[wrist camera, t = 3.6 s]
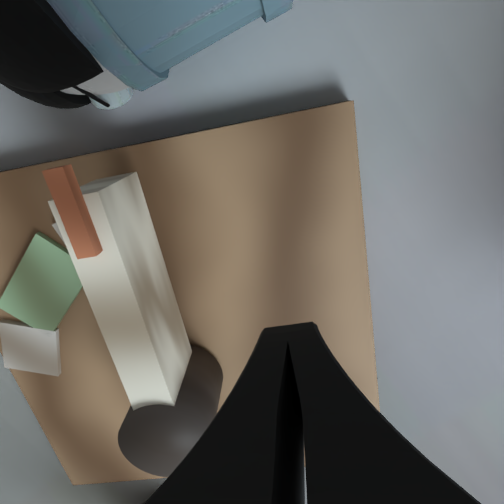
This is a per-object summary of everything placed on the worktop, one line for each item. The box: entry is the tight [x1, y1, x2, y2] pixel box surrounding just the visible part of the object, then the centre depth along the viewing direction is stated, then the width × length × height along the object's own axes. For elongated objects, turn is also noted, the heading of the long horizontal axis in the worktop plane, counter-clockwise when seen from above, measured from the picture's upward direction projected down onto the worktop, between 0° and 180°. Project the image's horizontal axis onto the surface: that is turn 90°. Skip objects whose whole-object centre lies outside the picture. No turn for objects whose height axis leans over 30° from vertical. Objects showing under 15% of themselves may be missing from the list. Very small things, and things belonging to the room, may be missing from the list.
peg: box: [42, 164, 223, 477], centre depth 16 cm, size 14×4×5 cm, turn 11°
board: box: [0, 101, 380, 485], centre depth 20 cm, size 20×20×1 cm
